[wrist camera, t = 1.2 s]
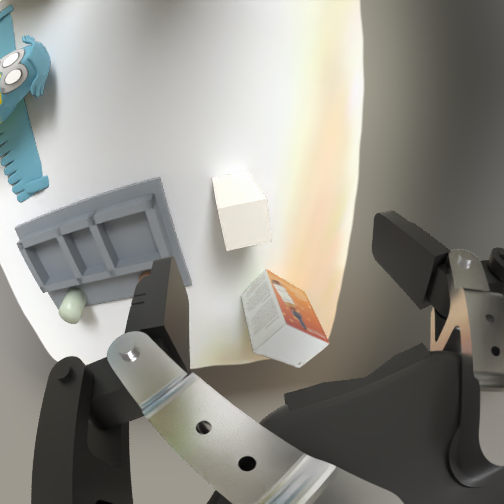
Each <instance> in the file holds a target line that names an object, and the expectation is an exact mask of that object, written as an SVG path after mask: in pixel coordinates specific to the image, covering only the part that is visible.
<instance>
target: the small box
mask: <svg viewBox="0 0 504 504" xmlns="http://www.w3.org/2000/svg"><path fill="white" fill-rule="evenodd" d="M241 298H242V303H243V308H244V312H245V317H246V322H247V326H248V331H249V335H250V340H251V344H252V348H253V352H254V353H256V354H259V355H263V356H266V357H269V358H272V359H275V360H277V361H281V362H283V363H286V364H289V365H292V366H294V367H297V368H300V367H301V366H302V365H304V364H305V363H306V362H308V361H309V360H310V359H311V358H313V357H314V356H315V355H316V354H317V353H319V352H320V351H321V350H323V349H324V348H325V347H326V346H327V345H328V344H329V341H328V339H327V337H326V335H325V333H324V331H323V329H322V327H321V324H320V322H319V320H318V318H317V316H316V314H315V312H314V310H313V308H312V306H311V304H310V302H309V300H308V298H307V296H306V294H305V292H304V291H302V290H300V289H298V288H297V287H295V286H293V285H292V284H290V283H288V282H287V281H285V280H284V279H282V278H280V277H279V276H277V275H275V274H274V273H272V272H271V271H269V270H267V269H265V270H264V271H263V272H262V273H261V275H260V276H259V277H258V278H257V279H256V280H255V281H254V282H253V283H252V284H251V285H250V286H249V287H248V288H247V289H246V291H245V292H244V293H243V294H242V295H241Z"/></svg>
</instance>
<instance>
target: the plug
mask: <svg viewBox="0 0 504 504" xmlns="http://www.w3.org/2000/svg"><path fill="white" fill-rule="evenodd" d="M212 181H213V187H214V193H215V199H216V204H217V210H218V214H219V219H220V224H221V228H222V233H223V237H224V242H225V246H226V251H229V250H234V249H239V248H243V247H248V246H252V245H257V244H262V243H266V242H271V241H272V238H271V229H270V221H269V213H268V205H267V198H266V197H265V195H264V194H263V192H262V191H261V189H260V188H259V186H258V185H257V183H256V182H255V180H254V179H253V177H252V176H251V174H250V173H249V172H248V171H244V172H238V173H233V174H228V175H223V176H218V177H214V178H212Z"/></svg>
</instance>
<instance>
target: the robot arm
mask: <svg viewBox="0 0 504 504" xmlns="http://www.w3.org/2000/svg"><path fill="white" fill-rule="evenodd" d="M372 252H373V256H374V258H375V260H376V261H377V262H378V263H379V264H380V266H382V268H383V269H384V270H385V271H386V272H387V273H388V274H389V275H390V276H391V277H392V278H393V279H394V281H396V283H397V284H398V285H399V286H400V287H401V288H402V289H403V290H404V292H405V293H406V294H407V295H408V296H409V297H410V298H411V299H412V301H413V302H414V303H415V304H416V305H417V306H418V308H419V309H423V308H425V307H427V306H430V305H432V306H433V308H432V311H431V349H430V351H428V350H427V348H426V347H425V345H424V344H423V343H421V344H419V345H417V346H414V347H412V348H410V349H408V350H406V351H404V352H402V353H399V354H397V355H395V356H394V357H392V358H391V359H390V360H388V361H387V362H386V363H385V364H383V365H382V366H381V367H379V368H378V369H377V370H375V371H374V372H373V373H371V374H370V375H368V376H367V377H364V378H358V379H351V380H343V381H334V382H323V383H320V384H317V385H314V386H311V387H307V388H304V389H300V390H297V391H293V392H290V393H286V394H284V397H285V405H283V406H281V407H280V408H278V409H277V410H275V411H273V412H272V413H270V414H269V415H268V416H266V417H265V418H264V419H263V420H262V421H261V422H260V423H257V422H256V421H254V420H253V419H252V418H250V417H249V416H248V415H246V414H245V413H243V412H242V411H241V410H239V409H238V408H237V407H235V406H234V405H233V404H232V403H230V402H229V401H228V400H226V399H225V398H224V397H223V396H221V395H220V394H219V393H218V392H216V391H215V390H214V389H213V388H212V387H210V386H209V385H208V384H207V383H205V382H204V381H203V380H202V379H201V378H200V377H198V376H197V375H196V374H194V373H193V372H190V353H189V301H188V296H187V292H186V289H185V286H184V283H183V280H182V277H181V275H180V272H179V269H178V266H177V263H176V260H175V258H174V257H173V256H171V257H167V258H162V259H158V260H154V261H153V264H152V269H151V273H150V275H147V276H143V277H142V279H141V280H140V281H139V283H138V284H137V285H136V288H135V292H134V295H133V296H134V298H133V299H132V303H131V304H132V306H131V307H130V312H129V316H128V320H127V325H126V329H125V334H123V335H121V336H120V337H118V338H117V339H116V340H115V341H114V342H113V343H112V344H111V345H110V347H109V349H108V353H107V357H105V358H103V359H101V360H98V361H96V362H94V363H91V364H89V365H85V364H84V363H83V362H82V361H81V360H80V359H79V358H78V357H74V356H70V357H66V358H64V359H62V360H60V361H59V362H58V363H57V364H56V365H55V366H54V367H53V369H52V370H51V372H50V374H49V378H48V382H47V386H46V390H45V394H44V398H43V403H42V408H41V412H40V418H39V423H38V429H37V435H36V442H35V450H34V459H33V471H32V493H31V494H32V496H31V497H32V498H31V499H32V500H31V504H133V498H132V487H131V475H130V456H129V421H132V420H134V419H137V418H140V417H142V416H145V417H146V418H147V419H148V420H149V422H150V423H151V424H152V425H153V426H154V428H155V429H156V430H157V431H158V432H159V433H160V435H161V436H162V437H163V438H164V439H165V440H166V441H167V442H168V443H169V445H170V446H171V447H172V448H173V449H174V450H175V451H176V452H177V453H178V454H179V455H180V456H181V457H182V458H183V459H184V460H185V461H186V462H187V463H188V464H189V465H190V466H191V467H192V468H193V469H194V470H195V471H196V472H197V473H198V474H199V475H200V476H201V477H202V478H203V479H204V480H205V481H207V482H208V483H209V484H210V485H211V486H212V487H214V489H216V490H215V492H214V493H213V495H212V497H211V498H210V500H209V501H208V503H207V504H504V249H503V248H494V249H493V250H492V252H491V255H490V258H489V260H484V261H480V259H479V258H478V257H477V256H476V255H474V254H473V253H471V252H469V251H467V250H463V249H455V250H452V251H450V250H449V249H448V248H446V247H445V246H444V245H443V244H441V243H440V242H439V241H437V240H436V239H435V238H434V237H432V236H430V234H428V233H427V232H426V231H423V229H422V228H420V227H419V226H417V225H416V224H414V223H411V222H409V221H407V220H406V219H405V218H404V217H402V216H401V215H399V214H398V213H396V212H395V211H386V212H382V213H377V214H376V215H375V217H374V228H373V241H372Z"/></svg>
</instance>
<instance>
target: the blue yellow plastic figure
mask: <svg viewBox="0 0 504 504" xmlns="http://www.w3.org/2000/svg"><path fill="white" fill-rule="evenodd" d="M13 9H14V8H13V6H12V5H10V6H8V7H7V8H5V9H4V10H3V11H1V12H0V134H1V133H2V134H1V135H0V145H2V144H3V143H5V142H6V141H7V142H6V143H5V144H4V145H3V146H1V147H0V156H3V155H4V154H6V153H7V152H9V151H10V152H9V153H8V154H7V155H5V156H4V157H3V158H2V159H1V165H2V166H5V165H7V164H8V163H10V162H12V161H13V162H12V163H11V164H9V165H8V166H7V167H6V168H5V169H4V173H5V175H10V174H11V173H13V172H15V171H16V172H15V173H14V174H12V175H11V176H10V177H9V178H8V182H9V184H14V183H16V182H17V181H19V180H20V181H19V182H18V183H17V184H15V185H14V186H13V188H12V191H13V192H14V193H18V192H20V191H22V190H24V191H23V192H21V193H20V194H19V195H18V196H17V200H18V201H19V202H23V201H25V200H26V199H28V198H29V197H31V196H32V195H34V194H35V193H36V192H37V191H40V190H42V189H45V188H47V187H49V180H48V176H44V177H42V166H41V161H40V158H39V154H38V151H37V147H36V143H35V138H34V135H33V132H32V128H31V125H30V121H29V117H28V113H27V109H26V105H25V101H24V96H25V95H26V94H27V93H28V92H29V91H31V94H32V95H34V93H35V96H36V97H39V95H41V96H42V95H43V88H44V85H45V82H46V79H47V77H48V73H49V69H50V57H49V54H48V52H47V50H46V48H45V47H44V46H43V44H42V43H39V42H36V41H35V40H34V38H33V37H31V38H30V36H29V35H27V36H26V37H25V36H23V37H22V40H23V42H24V43H26V44H32V45H29V46H26V47H24V48H21V49H19V50H16V47H15V37H14V30H13V22H12V17H11V15H10V14H9V13H10V12H11V11H13Z"/></svg>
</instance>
